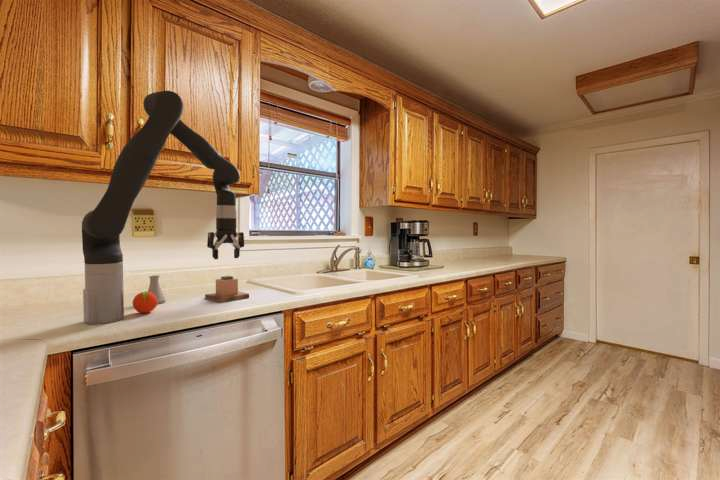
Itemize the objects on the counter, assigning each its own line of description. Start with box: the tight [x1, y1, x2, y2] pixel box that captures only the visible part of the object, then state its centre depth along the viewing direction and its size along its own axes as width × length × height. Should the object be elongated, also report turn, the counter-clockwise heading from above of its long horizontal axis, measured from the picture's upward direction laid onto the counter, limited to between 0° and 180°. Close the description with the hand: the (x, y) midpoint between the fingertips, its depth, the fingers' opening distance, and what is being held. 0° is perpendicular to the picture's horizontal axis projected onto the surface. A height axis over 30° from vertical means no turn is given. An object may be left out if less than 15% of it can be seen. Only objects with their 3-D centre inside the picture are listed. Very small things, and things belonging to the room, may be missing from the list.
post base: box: [204, 275, 250, 303], centre depth 138 cm, size 12×12×8 cm
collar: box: [215, 277, 239, 296], centre depth 138 cm, size 6×6×6 cm
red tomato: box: [132, 291, 158, 314], centre depth 113 cm, size 8×7×7 cm
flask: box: [147, 274, 167, 305], centre depth 129 cm, size 7×7×10 cm
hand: (226, 258), depth 138 cm, fingers open, 8 cm apart
